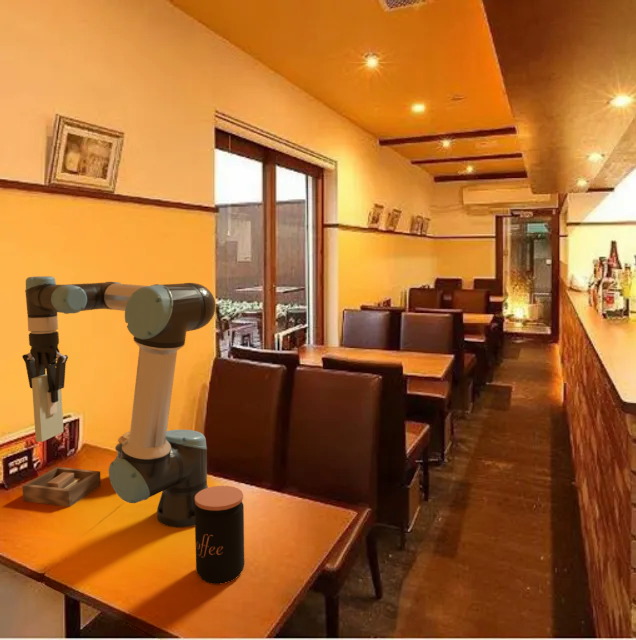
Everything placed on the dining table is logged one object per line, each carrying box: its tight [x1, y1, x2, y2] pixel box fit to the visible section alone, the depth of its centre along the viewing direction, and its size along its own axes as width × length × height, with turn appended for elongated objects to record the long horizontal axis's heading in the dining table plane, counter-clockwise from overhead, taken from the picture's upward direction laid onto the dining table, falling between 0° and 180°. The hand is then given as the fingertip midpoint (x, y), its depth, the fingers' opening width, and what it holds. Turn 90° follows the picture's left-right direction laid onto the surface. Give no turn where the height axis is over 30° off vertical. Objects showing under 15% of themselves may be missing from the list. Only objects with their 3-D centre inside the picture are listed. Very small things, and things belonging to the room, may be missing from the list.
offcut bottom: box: [64, 478, 80, 489], centre depth 160 cm, size 4×10×2 cm, turn 167°
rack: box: [21, 466, 102, 508], centre depth 160 cm, size 15×14×6 cm
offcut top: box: [47, 472, 74, 488], centre depth 159 cm, size 3×8×2 cm, turn 171°
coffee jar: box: [194, 485, 245, 585], centre depth 123 cm, size 11×11×18 cm
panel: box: [31, 373, 64, 443], centre depth 157 cm, size 2×9×18 cm, turn 167°
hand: (48, 412), depth 158 cm, fingers closed on panel, 2 cm apart
